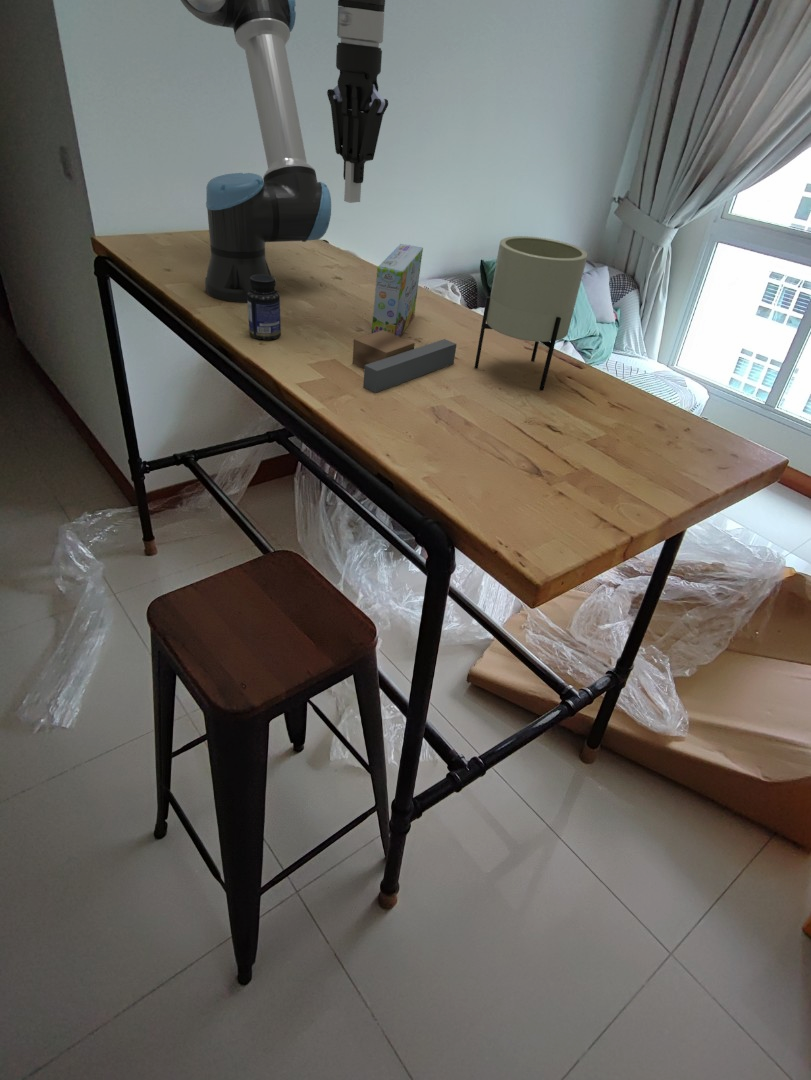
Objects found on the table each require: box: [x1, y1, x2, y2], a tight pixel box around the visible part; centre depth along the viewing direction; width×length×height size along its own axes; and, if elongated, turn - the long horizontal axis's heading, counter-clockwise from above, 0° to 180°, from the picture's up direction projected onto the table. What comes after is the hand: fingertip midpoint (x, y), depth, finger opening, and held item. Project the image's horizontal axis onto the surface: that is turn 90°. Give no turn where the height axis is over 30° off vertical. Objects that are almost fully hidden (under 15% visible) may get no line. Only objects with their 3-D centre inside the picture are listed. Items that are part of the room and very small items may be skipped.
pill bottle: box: [247, 275, 282, 341], centre depth 124 cm, size 6×6×11 cm
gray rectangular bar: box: [362, 338, 457, 393], centre depth 118 cm, size 3×22×4 cm, turn 138°
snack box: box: [370, 243, 424, 338], centre depth 133 cm, size 21×6×15 cm, turn 168°
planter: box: [474, 235, 588, 392], centre depth 118 cm, size 15×16×23 cm
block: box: [352, 330, 416, 370], centre depth 120 cm, size 8×8×5 cm
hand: (352, 201), depth 120 cm, fingers closed
